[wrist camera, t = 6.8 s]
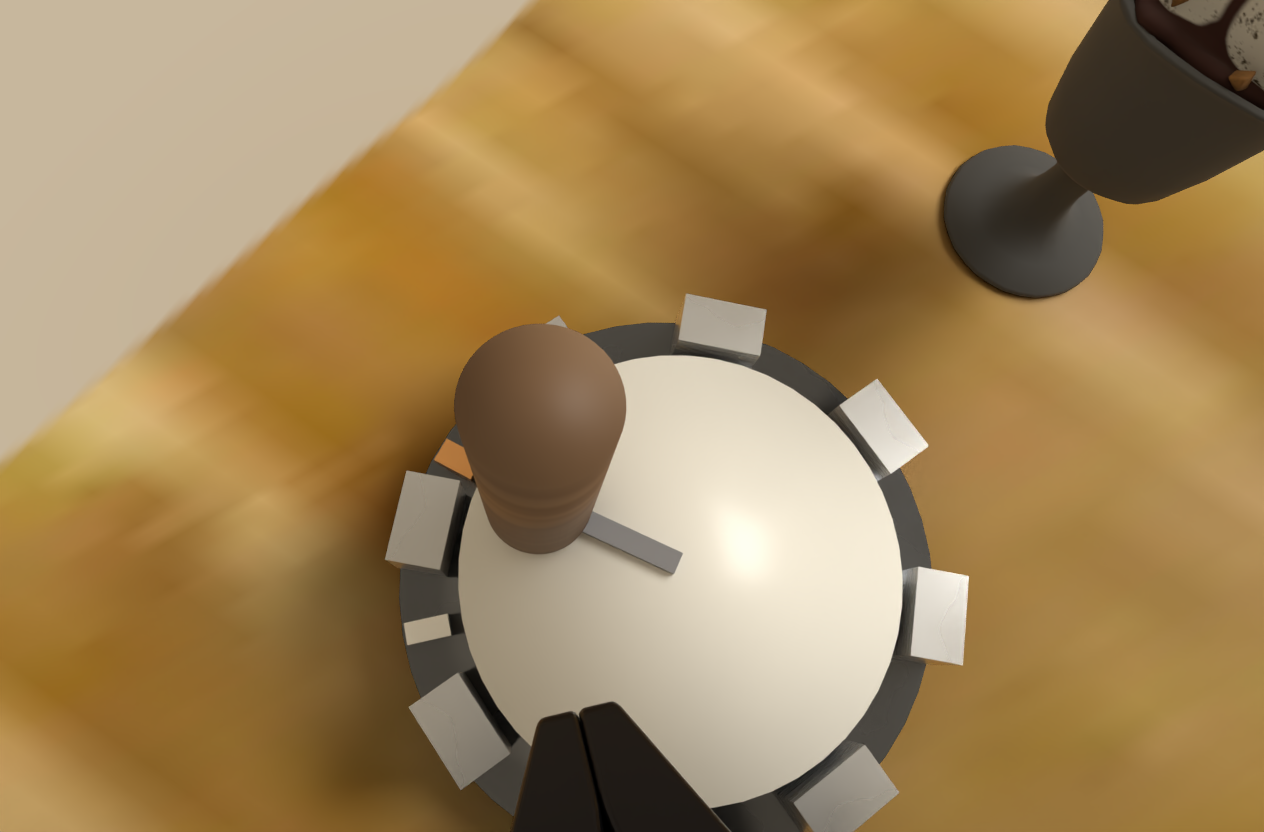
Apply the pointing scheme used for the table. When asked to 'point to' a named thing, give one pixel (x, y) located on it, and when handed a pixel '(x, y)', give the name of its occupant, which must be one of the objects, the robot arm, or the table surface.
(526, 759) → the dial plate
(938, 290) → the table surface
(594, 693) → the dial
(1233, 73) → the sundae
